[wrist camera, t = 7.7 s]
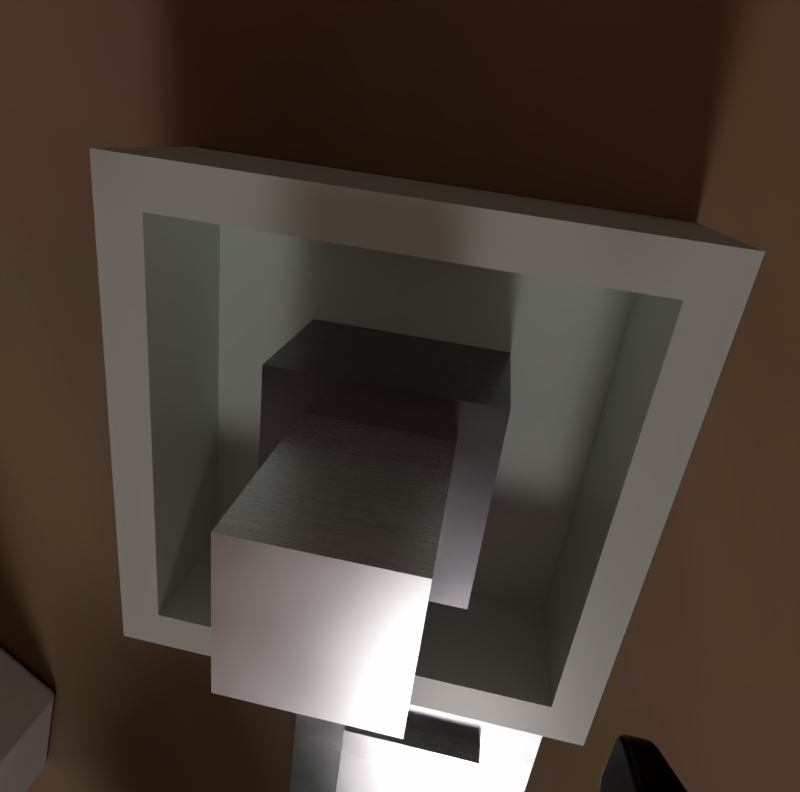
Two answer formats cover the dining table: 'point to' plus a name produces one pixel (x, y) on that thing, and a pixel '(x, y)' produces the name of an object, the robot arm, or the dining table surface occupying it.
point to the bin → (429, 318)
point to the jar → (22, 725)
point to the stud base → (412, 756)
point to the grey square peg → (355, 520)
